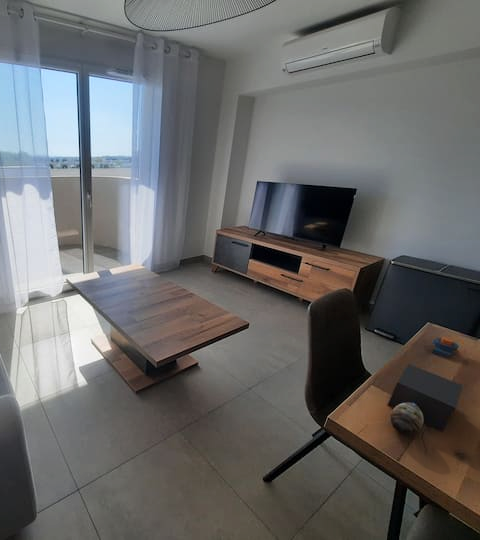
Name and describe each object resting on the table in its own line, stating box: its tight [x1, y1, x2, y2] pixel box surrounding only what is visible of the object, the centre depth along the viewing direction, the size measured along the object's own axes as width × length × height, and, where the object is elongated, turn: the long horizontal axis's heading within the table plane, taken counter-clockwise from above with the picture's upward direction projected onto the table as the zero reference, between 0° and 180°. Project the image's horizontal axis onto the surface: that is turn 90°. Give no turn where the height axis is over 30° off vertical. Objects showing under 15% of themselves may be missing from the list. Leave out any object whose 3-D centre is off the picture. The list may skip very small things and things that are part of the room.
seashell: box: [390, 403, 424, 436], centre depth 74 cm, size 10×6×8 cm, turn 125°
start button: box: [440, 336, 455, 346], centre depth 103 cm, size 3×3×2 cm
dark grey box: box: [387, 363, 464, 433], centre depth 80 cm, size 12×11×8 cm
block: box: [431, 337, 460, 360], centre depth 104 cm, size 10×6×4 cm, turn 127°
